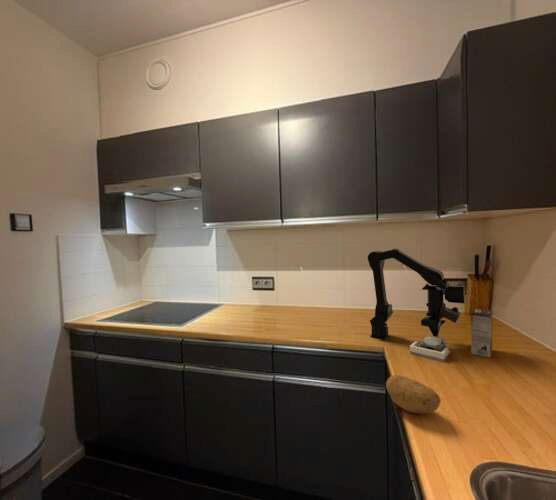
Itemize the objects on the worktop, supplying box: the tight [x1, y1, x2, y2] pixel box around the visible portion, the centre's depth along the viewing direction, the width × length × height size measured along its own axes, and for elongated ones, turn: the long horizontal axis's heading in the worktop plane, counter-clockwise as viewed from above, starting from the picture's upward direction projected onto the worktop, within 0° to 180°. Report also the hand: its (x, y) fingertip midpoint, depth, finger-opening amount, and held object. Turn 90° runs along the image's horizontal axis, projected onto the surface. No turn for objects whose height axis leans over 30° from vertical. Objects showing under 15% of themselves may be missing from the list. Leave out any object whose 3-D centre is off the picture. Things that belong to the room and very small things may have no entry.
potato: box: [385, 374, 442, 415], centre depth 79 cm, size 10×14×8 cm
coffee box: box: [470, 307, 493, 358], centre depth 114 cm, size 9×6×16 cm
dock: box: [409, 340, 452, 363], centre depth 115 cm, size 12×11×3 cm
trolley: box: [419, 334, 447, 352], centre depth 116 cm, size 8×8×5 cm
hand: (435, 338), depth 120 cm, fingers closed
